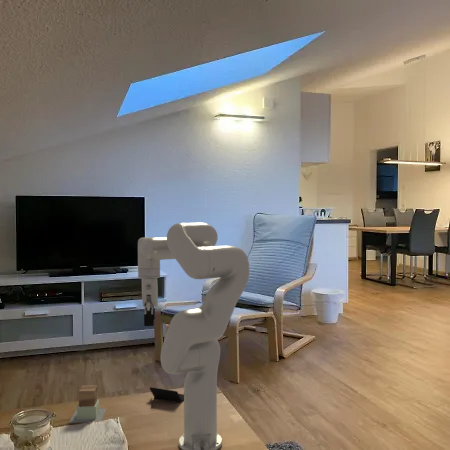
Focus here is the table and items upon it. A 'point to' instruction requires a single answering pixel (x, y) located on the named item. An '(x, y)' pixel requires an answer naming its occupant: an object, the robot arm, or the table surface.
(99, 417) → the board
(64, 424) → the table surface
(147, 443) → the table surface
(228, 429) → the table surface
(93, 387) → the walnut cube
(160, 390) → the handheld gaming console
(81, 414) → the sage base block
